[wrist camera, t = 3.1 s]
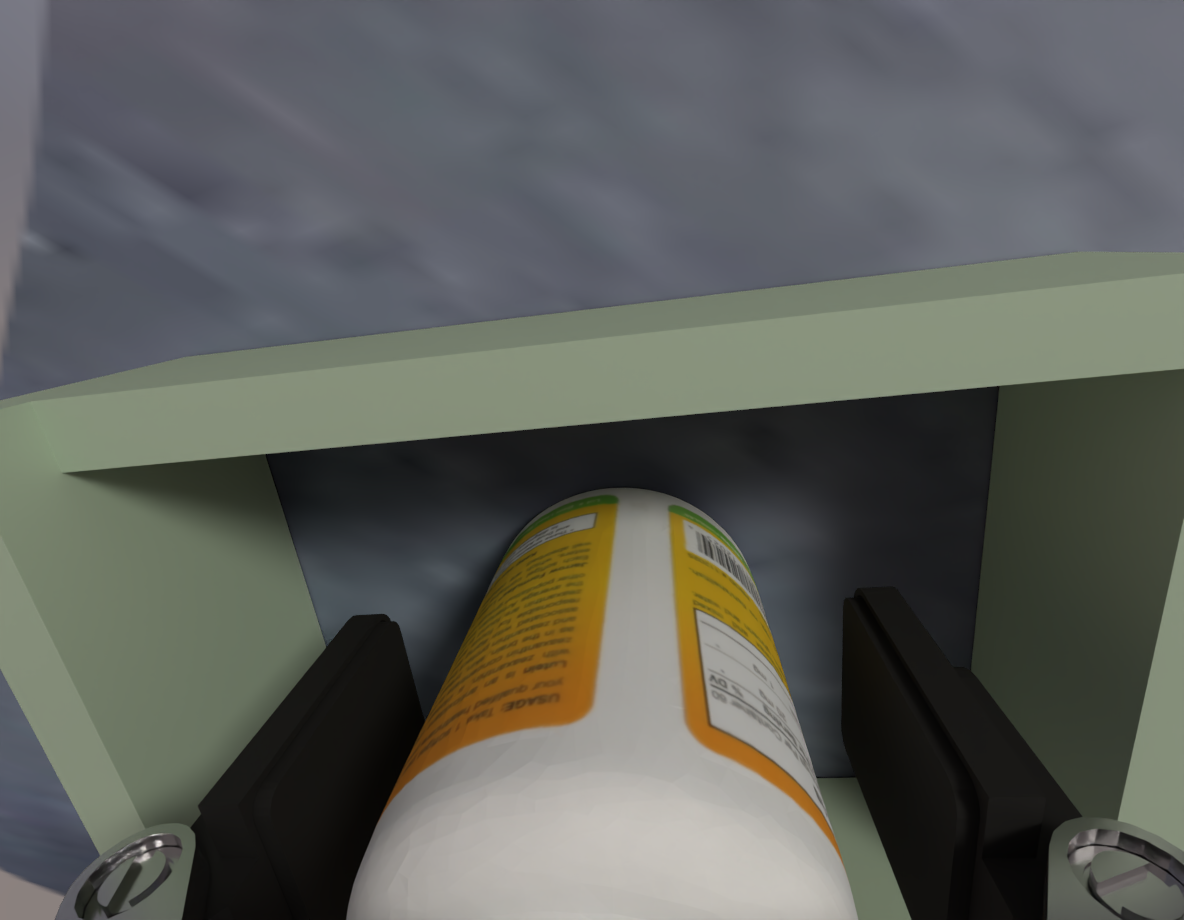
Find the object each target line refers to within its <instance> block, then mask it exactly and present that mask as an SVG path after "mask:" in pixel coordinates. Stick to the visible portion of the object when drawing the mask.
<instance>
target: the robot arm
mask: <svg viewBox="0 0 1184 920" xmlns="http://www.w3.org/2000/svg"><path fill="white" fill-rule="evenodd" d="M424 723H425V721H424V717H423V713H422V710H421V706H420V702H419V698H418V695H417V691H416V687H415V683H414V679H413V676H412V672H411V668H410V664H409V661H408V657H407V653H406V649H405V646H404V642H403V638H402V634H401V631H400V628H399V625H398V624H397V622H394V621H392V622H391V621H390V618H389V617H388V616H387V615H385V614H372V615H356V616H352V617H351V618H350V619H349V620H348V621H347V623H346V624H345V625H344V626H343V627H342V629H341V630H340V631H339V632H338V634H337V635H336V636H335V637H334V639H333V640H332V641H331V642H330V643H329V645H328V646H327V647H326V648H325V650H324V651H323V652H322V653H321V655H320V656H319V657H318V658H317V659H316V661H315V662H314V663H313V664H312V666H311V667H310V668H309V669H308V671H307V672H306V673H305V674H304V675H303V677H302V678H301V679H300V680H299V682H298V683H297V684H296V685H295V687H294V688H293V689H292V690H291V691H290V693H289V694H288V695H287V696H286V698H285V699H284V700H283V701H282V703H281V704H280V705H279V706H278V707H277V709H276V710H275V711H274V712H273V714H272V715H271V716H270V717H269V719H268V720H267V721H266V722H265V723H264V725H263V726H262V727H261V728H260V730H259V731H258V732H257V733H256V735H255V736H254V737H253V738H252V739H251V741H250V742H249V743H248V744H247V746H246V747H245V748H244V749H243V751H242V752H241V753H240V754H239V755H238V757H237V758H236V759H235V760H234V762H233V763H232V764H231V765H230V767H229V768H228V769H227V770H226V771H225V773H224V774H223V775H222V776H221V778H220V779H219V780H218V781H217V782H216V784H215V785H214V786H213V787H212V789H211V790H210V791H209V792H208V794H207V795H206V796H205V797H204V798H203V800H202V801H201V802H200V803H199V805H198V808H199V811H200V813H201V815H200V816H199V817H198V818H197V820H196V821H195V822H194V823H193V825H192V826H191V827H189V826H186V825H183V824H180V823H167V824H160V825H157V826H153V827H150V828H147V829H144V830H142V831H140V832H137V833H135V834H133V835H131V836H129V837H127V838H125V839H123V840H122V841H120V842H119V843H117V844H116V845H114V846H113V847H111V848H110V849H109V850H107V851H106V852H104V853H103V854H102V855H101V856H99V857H98V858H97V859H96V860H95V861H94V862H93V863H91V864H90V865H89V866H88V867H87V868H86V869H85V870H84V871H83V872H82V873H81V875H80V876H79V877H78V878H77V879H76V881H75V882H74V883H73V884H72V885H71V887H70V888H69V890H68V892H67V894H66V895H65V897H64V899H63V901H62V903H61V905H60V908H59V910H58V913H57V915H56V918H55V920H346V917H347V911H348V904H349V900H350V896H351V892H352V888H353V884H354V881H355V878H356V876H357V873H358V870H359V867H360V865H361V862H362V860H363V857H364V855H365V852H366V850H367V847H368V845H369V843H370V840H371V838H372V835H373V833H374V830H375V828H376V825H377V823H378V821H379V819H380V816H381V814H382V812H383V810H384V808H385V806H386V804H387V801H388V799H389V797H390V795H391V793H392V791H393V789H394V786H395V784H396V782H397V780H398V778H399V776H400V774H401V772H402V769H403V767H404V765H405V763H406V761H407V759H408V757H409V755H410V753H411V751H412V748H413V746H414V744H415V742H416V740H417V738H418V736H419V733H420V731H421V729H422V727H423V725H424ZM841 728H842V737H843V742H844V746H845V749H846V752H847V755H848V757H849V760H850V762H851V765H852V768H853V770H854V773H855V775H856V778H857V780H858V783H859V786H860V788H861V791H862V793H863V796H864V799H865V801H866V804H867V806H868V809H869V811H870V814H871V817H872V819H873V822H874V824H875V827H876V829H877V832H878V835H879V837H880V840H881V842H882V845H883V848H884V850H885V853H886V855H887V858H888V860H889V863H890V866H891V868H892V871H893V873H894V876H895V879H896V881H897V884H898V886H899V889H900V891H901V894H902V897H903V899H904V902H905V904H906V907H907V910H908V912H909V915H910V917H911V920H1184V851H1182V850H1181V849H1179V848H1177V847H1176V846H1174V845H1173V844H1171V843H1169V842H1168V841H1166V840H1164V839H1163V838H1161V837H1160V836H1157V835H1155V834H1153V833H1150V832H1148V831H1146V830H1144V829H1141V828H1139V827H1137V826H1134V825H1132V824H1128V823H1124V822H1120V821H1116V820H1113V819H1109V818H1100V817H1083V816H1082V815H1081V814H1080V812H1079V811H1078V810H1077V808H1076V807H1075V806H1074V805H1073V803H1072V802H1071V801H1070V799H1069V798H1068V797H1067V795H1066V794H1065V793H1064V791H1063V790H1062V789H1061V787H1060V786H1059V785H1058V783H1057V782H1056V781H1055V779H1054V778H1053V777H1052V776H1051V774H1050V773H1049V772H1048V770H1047V769H1046V768H1045V766H1044V765H1043V764H1042V762H1041V761H1040V760H1039V758H1038V757H1037V756H1036V754H1035V753H1034V752H1033V750H1032V749H1031V748H1030V747H1029V745H1028V744H1027V743H1026V741H1025V740H1024V739H1023V737H1022V736H1021V735H1020V733H1019V732H1018V731H1017V729H1016V728H1015V727H1014V725H1013V724H1012V723H1011V721H1010V720H1009V719H1008V718H1007V716H1006V715H1005V714H1004V712H1003V711H1002V710H1001V708H1000V707H999V706H998V704H997V703H996V702H995V700H994V699H993V698H992V696H991V695H990V694H989V692H988V691H987V690H986V689H985V687H984V686H983V685H982V683H981V682H980V681H979V679H978V678H977V677H976V676H975V675H974V674H973V673H972V672H971V671H970V670H969V669H967V668H965V667H952V665H951V664H950V662H949V661H948V660H947V658H946V657H945V655H944V654H943V653H942V651H941V650H940V648H939V647H938V646H937V644H936V643H935V642H934V640H933V639H932V637H931V636H930V635H929V633H928V632H927V630H926V629H925V628H924V626H923V625H922V623H921V622H920V621H919V619H918V618H917V617H916V615H915V614H914V612H913V611H912V610H911V608H910V607H909V605H908V604H907V603H906V601H905V600H904V598H903V597H902V596H901V594H900V593H899V592H898V590H897V589H896V588H895V587H892V586H891V587H872V588H858V589H857V590H856V591H855V595H854V597H852V598H845V600H844V605H843V657H842V716H841Z"/></svg>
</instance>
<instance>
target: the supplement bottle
mask: <svg viewBox="0 0 1184 920" xmlns="http://www.w3.org/2000/svg"><path fill="white" fill-rule="evenodd" d="M346 920H858V916H857V912H856V908H855V904H854V899H853V895H852V892H851V888H850V884H849V880H848V877H847V874H846V870H845V867H844V864H843V861H842V857H841V854H840V851H839V848H838V845H837V842H836V839H835V836H834V833H833V829H832V826H831V823H830V820H829V817H828V814H827V810H826V807H825V804H824V801H823V798H822V795H821V792H820V788H819V785H818V782H817V779H816V775H815V772H814V769H813V766H812V762H811V759H810V756H809V753H808V749H807V746H806V743H805V740H804V737H803V734H802V730H801V727H800V724H799V721H798V717H797V714H796V711H795V707H794V705H793V701H792V698H791V695H790V691H789V688H788V685H787V682H786V678H785V675H784V672H783V669H782V666H781V662H780V659H779V656H778V653H777V650H776V647H775V644H774V640H773V637H772V634H771V631H770V628H769V625H768V622H767V619H766V615H765V612H764V609H763V606H762V602H761V599H760V596H759V593H758V590H757V587H756V584H755V582H754V579H753V577H752V574H751V572H750V569H749V567H748V565H747V563H746V561H745V559H744V557H743V555H742V553H741V551H740V550H739V548H738V547H737V545H736V544H735V542H734V541H733V540H732V538H731V537H730V536H729V535H728V534H727V533H726V532H725V530H724V529H723V528H722V527H720V526H719V525H718V524H717V523H716V522H715V521H714V520H713V519H712V518H710V517H709V516H708V515H706V514H705V513H704V512H702V511H701V510H699V509H697V508H696V507H694V506H692V505H691V504H689V503H687V502H684V501H682V500H680V499H678V498H676V497H673V496H670V495H667V494H664V493H660V492H656V491H652V490H646V489H639V488H606V489H599V490H593V491H589V492H585V493H582V494H578V495H575V496H572V497H570V498H567V499H565V500H562V501H560V502H558V503H556V504H554V505H553V506H551V507H549V508H547V509H546V510H544V511H543V512H541V513H540V514H539V515H537V516H536V517H535V518H534V519H533V520H531V521H530V522H529V523H528V524H527V525H526V526H525V527H524V528H523V529H522V530H521V532H520V533H519V534H518V535H517V537H516V538H515V539H514V541H513V542H512V544H511V545H510V547H509V549H508V550H507V552H506V554H505V555H504V557H503V559H502V561H501V563H500V565H499V567H498V569H497V571H496V573H495V576H494V578H493V579H492V582H491V584H490V586H489V588H488V590H487V593H486V595H485V597H484V599H483V601H482V603H481V605H480V608H479V610H478V612H477V614H476V616H475V618H474V620H473V622H472V624H471V626H470V629H469V631H468V633H467V635H466V637H465V639H464V641H463V643H462V646H461V648H460V650H459V652H458V654H457V656H456V658H455V660H454V662H453V665H452V667H451V669H450V671H449V673H448V675H447V677H446V679H445V681H444V683H443V685H442V688H441V690H440V692H439V694H438V696H437V698H436V700H435V702H434V704H433V706H432V709H431V711H430V713H429V715H428V717H427V719H426V721H425V723H424V725H423V727H422V729H421V731H420V733H419V736H418V738H417V740H416V742H415V744H414V746H413V748H412V751H411V753H410V755H409V757H408V759H407V761H406V763H405V765H404V767H403V769H402V772H401V774H400V776H399V778H398V780H397V782H396V784H395V786H394V789H393V791H392V793H391V795H390V797H389V799H388V801H387V804H386V806H385V808H384V810H383V812H382V814H381V816H380V819H379V821H378V823H377V825H376V828H375V830H374V833H373V835H372V838H371V840H370V843H369V845H368V847H367V850H366V852H365V855H364V857H363V860H362V862H361V865H360V867H359V870H358V873H357V876H356V878H355V881H354V884H353V888H352V892H351V896H350V900H349V904H348V911H347V917H346Z"/></svg>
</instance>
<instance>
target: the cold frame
mask: <svg viewBox="0 0 1184 920" xmlns="http://www.w3.org/2000/svg"><path fill="white" fill-rule="evenodd" d="M991 386H1000V387H999V397H998V407H997V417H996V427H995V437H994V447H993V456H992V466H991V476H990V486H989V496H988V506H987V516H986V526H985V535H984V545H983V555H982V565H981V575H980V585H979V595H978V605H977V615H976V624H975V634H974V644H973V654H972V664H971V672H972V673H973V674H974V675H975V676H976V677H977V678H978V679H979V681H980V682H981V683H982V685H983V686H984V687H985V689H986V690H987V691H988V692H989V694H990V695H991V696H992V698H993V699H994V700H995V702H996V703H997V704H998V706H999V707H1000V708H1001V710H1002V711H1003V712H1004V714H1005V715H1006V716H1007V718H1008V719H1009V720H1010V721H1011V723H1012V724H1013V725H1014V727H1015V728H1016V729H1017V731H1018V732H1019V733H1020V735H1021V736H1022V737H1023V739H1024V740H1025V741H1026V743H1027V744H1028V745H1029V747H1030V748H1031V749H1032V750H1033V752H1034V753H1035V754H1036V756H1037V757H1038V758H1039V760H1040V761H1041V762H1042V764H1043V765H1044V766H1045V768H1046V769H1047V770H1048V772H1049V773H1050V774H1051V776H1052V777H1053V778H1054V779H1055V781H1056V782H1057V783H1058V785H1059V786H1060V787H1061V789H1062V790H1063V791H1064V793H1065V794H1066V795H1067V797H1068V798H1069V799H1070V801H1071V802H1072V803H1073V805H1074V806H1075V807H1076V808H1077V810H1078V811H1079V812H1080V814H1081V815H1082V816H1083V817H1100V818H1109V819H1113V820H1116V821H1120V822H1124V823H1128V824H1132V825H1134V826H1137V827H1139V828H1141V829H1144V830H1146V831H1148V832H1150V833H1153V834H1155V835H1157V836H1160V837H1161V838H1163V839H1164V840H1166V841H1168V842H1169V843H1171V844H1173V845H1174V846H1176V847H1177V848H1179V849H1181V850H1182V851H1184V253H1163V252H1073V253H1064V254H1056V255H1047V256H1039V257H1030V258H1022V259H1013V260H1005V261H996V262H988V263H979V264H971V265H962V266H954V267H945V268H937V269H928V270H920V271H911V272H903V273H894V274H886V275H878V276H869V277H861V278H852V279H844V280H835V281H827V282H818V283H810V284H801V285H793V286H784V287H776V288H767V289H759V290H750V291H742V292H733V293H725V294H716V295H708V296H699V297H691V298H682V299H674V300H665V301H657V302H648V303H640V304H631V305H623V306H614V307H606V308H597V309H589V310H580V311H572V312H564V313H555V314H547V315H538V316H530V317H521V318H513V319H504V320H496V321H487V322H479V323H470V324H462V325H453V326H445V327H436V328H428V329H419V330H411V331H402V332H394V333H385V334H377V335H368V336H360V337H351V338H343V339H334V340H326V341H317V342H309V343H300V344H292V345H283V346H275V347H266V348H258V349H249V350H241V351H233V352H224V353H216V354H207V355H199V356H190V357H184V358H179V359H175V360H171V361H167V362H162V363H158V364H154V365H150V366H145V367H141V368H137V369H133V370H128V371H124V372H120V373H116V374H111V375H107V376H103V377H99V378H94V379H90V380H86V381H82V382H77V383H73V384H69V385H64V386H60V387H56V388H52V389H47V390H43V391H39V392H35V393H30V394H26V395H22V396H18V397H13V398H9V399H5V400H1V401H0V669H1V671H2V673H3V675H4V676H5V678H6V680H7V682H8V684H9V686H10V688H11V690H12V691H13V693H14V695H15V697H16V699H17V701H18V703H19V704H20V706H21V708H22V710H23V712H24V714H25V716H26V718H27V719H28V721H29V723H30V725H31V727H32V729H33V731H34V733H35V734H36V736H37V738H38V740H39V742H40V744H41V746H42V747H43V749H44V751H45V753H46V755H47V757H48V759H49V761H50V762H51V764H52V766H53V768H54V770H55V772H56V774H57V776H58V777H59V779H60V781H61V783H62V785H63V787H64V789H65V790H66V792H67V794H68V796H69V798H70V800H71V802H72V804H73V805H74V807H75V809H76V811H77V813H78V815H79V817H80V818H81V820H82V822H83V824H84V826H85V828H86V830H87V832H88V833H89V835H90V837H91V839H92V841H93V843H94V845H95V847H96V848H97V850H98V852H99V854H100V856H101V855H102V854H103V853H104V852H106V851H107V850H109V849H110V848H111V847H113V846H114V845H116V844H117V843H119V842H120V841H122V840H123V839H125V838H127V837H129V836H131V835H133V834H135V833H137V832H140V831H142V830H144V829H147V828H150V827H153V826H157V825H160V824H167V823H180V824H183V825H186V826H189V827H191V826H192V825H193V823H194V822H195V821H196V820H197V818H198V817H199V816H200V815H201V813H200V811H199V808H198V805H199V803H200V802H201V801H202V800H203V798H204V797H205V796H206V795H207V794H208V792H209V791H210V790H211V789H212V787H213V786H214V785H215V784H216V782H217V781H218V780H219V779H220V778H221V776H222V775H223V774H224V773H225V771H226V770H227V769H228V768H229V767H230V765H231V764H232V763H233V762H234V760H235V759H236V758H237V757H238V755H239V754H240V753H241V752H242V751H243V749H244V748H245V747H246V746H247V744H248V743H249V742H250V741H251V739H252V738H253V737H254V736H255V735H256V733H257V732H258V731H259V730H260V728H261V727H262V726H263V725H264V723H265V722H266V721H267V720H268V719H269V717H270V716H271V715H272V714H273V712H274V711H275V710H276V709H277V707H278V706H279V705H280V704H281V703H282V701H283V700H284V699H285V698H286V696H287V695H288V694H289V693H290V691H291V690H292V689H293V688H294V687H295V685H296V684H297V683H298V682H299V680H300V679H301V678H302V677H303V675H304V674H305V673H306V672H307V671H308V669H309V668H310V667H311V666H312V664H313V663H314V662H315V661H316V659H317V658H318V657H319V656H320V655H321V653H322V652H323V651H324V650H325V648H326V645H325V642H324V639H323V636H322V632H321V629H320V626H319V623H318V620H317V617H316V614H315V610H314V607H313V604H312V601H311V598H310V595H309V591H308V588H307V585H306V582H305V579H304V576H303V573H302V569H301V566H300V563H299V560H298V557H297V554H296V550H295V547H294V544H293V541H292V538H291V535H290V531H289V528H288V525H287V522H286V519H285V516H284V513H283V509H282V506H281V503H280V500H279V497H278V494H277V490H276V487H275V484H274V481H273V478H272V475H271V472H270V468H269V465H268V462H267V459H266V456H265V454H270V453H281V452H292V451H303V450H313V449H324V448H335V447H346V446H356V445H367V444H378V443H389V442H399V441H410V440H421V439H432V438H443V437H453V436H464V435H475V434H486V433H496V432H507V431H518V430H529V429H539V428H550V427H561V426H572V425H582V424H593V423H604V422H615V421H625V420H636V419H647V418H658V417H669V416H679V415H690V414H701V413H712V412H722V411H733V410H744V409H755V408H765V407H776V406H787V405H798V404H808V403H819V402H830V401H841V400H851V399H862V398H873V397H884V396H895V395H905V394H916V393H927V392H938V391H948V390H959V389H970V388H981V387H991ZM816 779H817V782H818V785H819V788H820V792H821V795H822V798H823V801H824V804H825V807H826V810H827V814H828V817H829V820H830V823H831V826H832V829H833V833H834V836H835V839H836V842H837V845H838V848H839V851H840V854H841V857H842V861H843V864H844V867H845V870H846V874H847V877H848V880H849V884H850V888H851V892H852V895H853V899H854V904H855V908H856V912H857V916H858V920H911V917H910V915H909V912H908V910H907V907H906V904H905V902H904V899H903V897H902V894H901V891H900V889H899V886H898V884H897V881H896V879H895V876H894V873H893V871H892V868H891V866H890V863H889V860H888V858H887V855H886V853H885V850H884V848H883V845H882V842H881V840H880V837H879V835H878V832H877V829H876V827H875V824H874V822H873V819H872V817H871V814H870V811H869V809H868V806H867V804H866V801H865V799H864V796H863V793H862V791H861V788H860V786H859V783H858V780H857V778H816Z"/></svg>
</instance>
